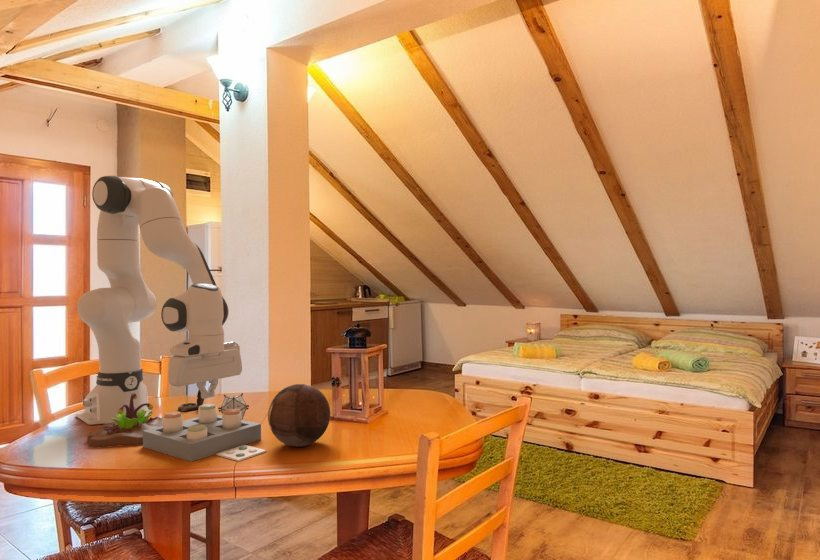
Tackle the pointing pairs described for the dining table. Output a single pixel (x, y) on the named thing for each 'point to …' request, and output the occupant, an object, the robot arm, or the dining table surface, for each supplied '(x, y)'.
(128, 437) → the plant
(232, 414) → the button
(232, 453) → the card
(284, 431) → the wooden sphere
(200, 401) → the compass
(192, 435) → the button
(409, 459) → the dining table surface
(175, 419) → the button
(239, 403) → the wireframe polyhedron
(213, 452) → the grey grid tray
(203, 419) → the button
